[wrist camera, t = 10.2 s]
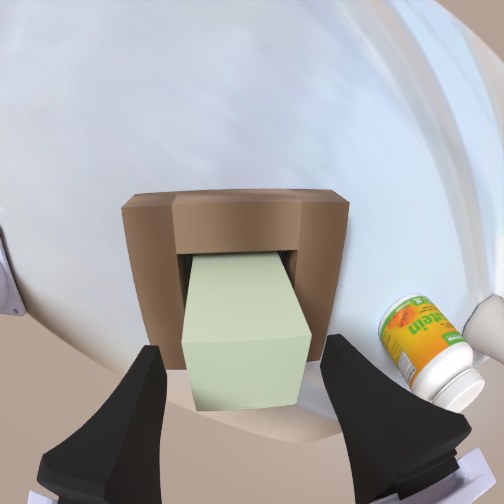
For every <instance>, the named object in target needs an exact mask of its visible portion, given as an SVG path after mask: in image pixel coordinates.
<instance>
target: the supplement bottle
mask: <svg viewBox="0 0 504 504" xmlns="http://www.w3.org/2000/svg"><path fill="white" fill-rule="evenodd" d="M379 337H380V339H381V341H382V343H383V344H384V346H385V347H386V349H387V351H388V352H389V354H390V356H391V357H392V359H393V360H394V362H395V364H396V365H397V367H398V369H399V370H400V372H401V374H402V375H403V377H404V379H405V380H406V382H407V384H408V385H409V387H410V389H411V391H412V392H413V394H414V395H416V396H418V397H420V398H422V399H423V400H425V401H431V400H433V401H432V404H434V405H436V406H439V407H441V408H444V409H446V410H450V411H453V412H456V413H459V412H460V411H461V410H462V409H464V408H465V407H466V406H467V405H469V404H470V403H471V402H472V401H473V400H474V399H475V398H476V397H477V395H478V394H479V393H480V392H481V390H482V389H483V387H484V384H485V382H484V380H483V378H482V377H481V375H480V374H479V372H478V371H477V370H476V369H475V368H470V367H471V365H472V361H473V351H472V348H471V347H470V345H469V344H468V343H467V342H466V340H465V339H464V338H463V337H462V336H461V335H460V333H459V332H458V331H457V330H456V329H455V328H454V326H453V325H452V324H451V323H450V322H449V321H448V320H447V319H446V317H445V316H444V315H443V314H442V313H441V312H440V311H439V310H438V309H437V307H436V306H435V305H434V304H433V303H432V302H431V301H430V300H429V299H428V298H427V297H426V296H424V295H422V294H418V293H415V294H410V295H407V296H405V297H403V298H401V299H400V300H398V301H397V302H395V303H394V304H393V305H392V306H391V307H390V308H389V309H388V310H387V312H386V313H385V314H384V316H383V317H382V319H381V322H380V325H379Z"/></svg>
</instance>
